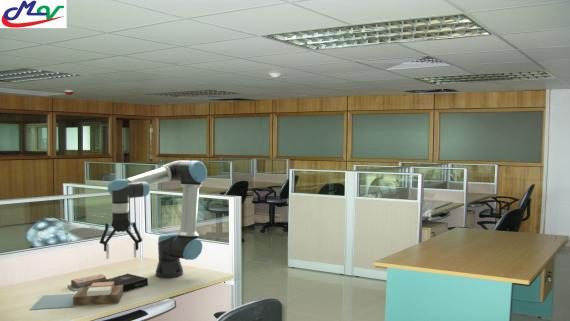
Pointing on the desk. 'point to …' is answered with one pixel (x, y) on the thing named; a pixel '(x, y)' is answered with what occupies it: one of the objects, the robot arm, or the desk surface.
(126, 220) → the robot arm
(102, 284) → the terracotta card
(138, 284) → the portable cd player
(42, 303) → the mat
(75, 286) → the packaged product
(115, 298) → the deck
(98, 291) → the ivory card
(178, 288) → the desk surface
